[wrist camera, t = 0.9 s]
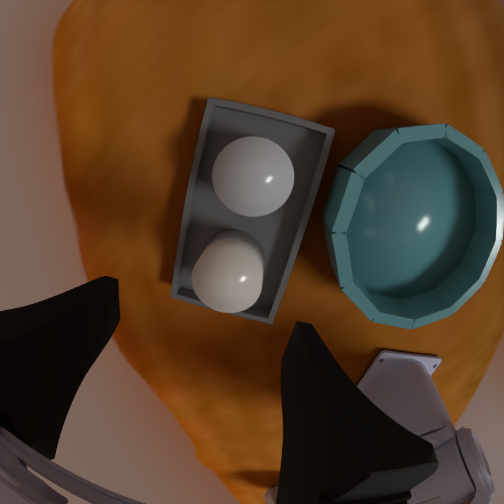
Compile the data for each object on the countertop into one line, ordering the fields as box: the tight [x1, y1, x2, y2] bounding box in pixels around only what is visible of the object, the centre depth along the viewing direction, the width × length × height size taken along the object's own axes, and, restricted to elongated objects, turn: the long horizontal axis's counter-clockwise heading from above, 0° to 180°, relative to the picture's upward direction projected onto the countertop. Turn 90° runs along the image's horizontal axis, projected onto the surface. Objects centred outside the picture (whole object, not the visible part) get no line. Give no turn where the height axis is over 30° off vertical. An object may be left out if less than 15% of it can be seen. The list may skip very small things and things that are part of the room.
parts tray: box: [171, 97, 335, 324], centre depth 17 cm, size 13×7×2 cm, turn 166°
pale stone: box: [191, 230, 264, 313], centre depth 17 cm, size 4×4×4 cm
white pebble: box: [212, 136, 294, 217], centre depth 15 cm, size 4×4×4 cm
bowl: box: [321, 124, 504, 329], centre depth 16 cm, size 13×13×4 cm
